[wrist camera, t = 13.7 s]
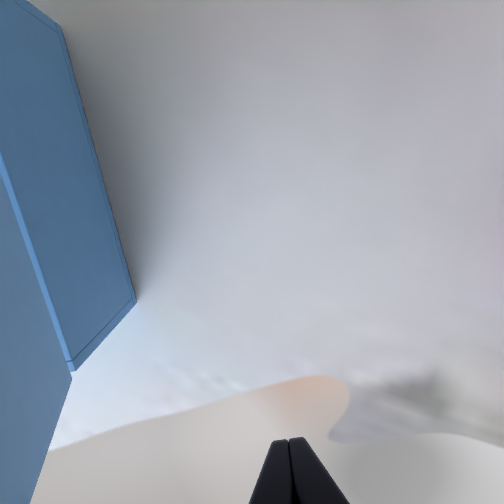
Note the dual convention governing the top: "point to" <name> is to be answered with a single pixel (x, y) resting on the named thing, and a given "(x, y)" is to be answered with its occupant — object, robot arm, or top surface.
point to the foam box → (58, 184)
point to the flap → (25, 366)
